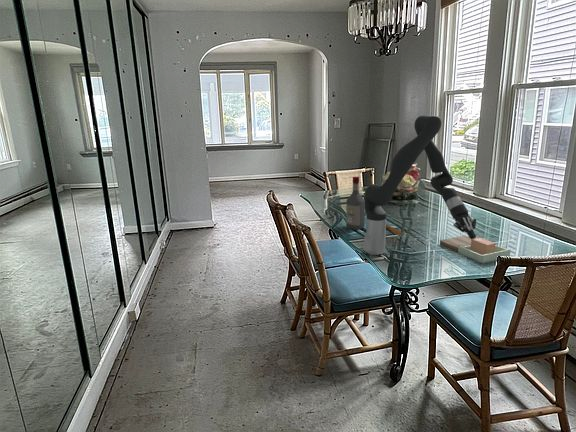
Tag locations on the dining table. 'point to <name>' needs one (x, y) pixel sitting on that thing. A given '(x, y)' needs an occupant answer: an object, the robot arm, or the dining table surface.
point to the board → (456, 242)
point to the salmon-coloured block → (482, 246)
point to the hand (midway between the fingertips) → (473, 238)
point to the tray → (483, 258)
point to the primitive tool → (393, 230)
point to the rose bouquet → (406, 187)
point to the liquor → (355, 208)
